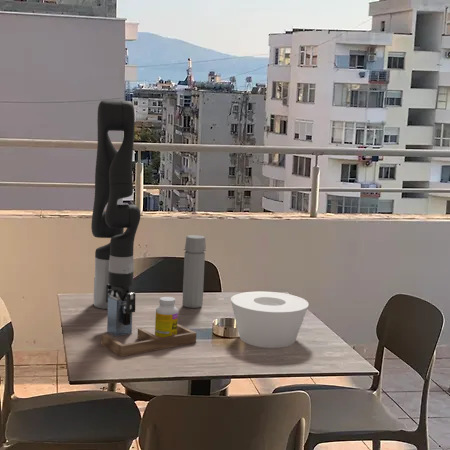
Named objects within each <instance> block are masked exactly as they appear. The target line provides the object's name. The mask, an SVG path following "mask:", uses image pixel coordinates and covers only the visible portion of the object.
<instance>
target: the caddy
mask: <svg viewBox="0 0 450 450" xmlns="http://www.w3.org/2000/svg"><path fill="white" fill-rule="evenodd" d="M100 339H101V340H100V344H101V346H103V347H105V348H106V349H108V350H110V352H113V353H115V354H116V355H117V356H119V357H126V356H131V355H132V356H133V355H136V354H141V353H142V354H143V353H147V352H153V351H157V350H163V349H168V348H173V347H179V346H185V345H190V344H195V343H197V332H196V331H194V330H192V329H189V328H188V327H185V326H184V325H181V324H179V323H177V335H173V336H167V337H162V338H159V337H157V336H155V334H153V333H151V332H149V331H148V330H146V329H143V328H141V327H139V328H137V340H138V341H135V342H129V343H124V344H123V343H122V342H120V341H118V340H116V339H115V338H114V337H113V338H112V337H111V336H109V335H108V334H106V333H105V334H101V335H100ZM139 340H140V341H139Z"/></svg>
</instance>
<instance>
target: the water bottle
mask: <svg viewBox="0 0 450 450" xmlns="http://www.w3.org/2000/svg"><path fill="white" fill-rule="evenodd" d="M206 249H207V248H206V236H203V235H197V234H189V235H186V237H185V245H184V249H183V251H184V254H183V255H184V258H183V281H182V282H183V283H182V306H184V308H185V307H186V308H188V309H198V308H202V306H203V304H204V303H203V301H204V299H203V298H204V281H205V280H204V279H205V277H204V276H205V259H206V258H205V256H206V251H207V250H206Z"/></svg>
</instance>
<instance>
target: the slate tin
mask: <svg viewBox="0 0 450 450" xmlns="http://www.w3.org/2000/svg"><path fill="white" fill-rule="evenodd" d="M122 302H123V303H126V301H123V300H122ZM125 308H126V306H125ZM131 308H132V305H131ZM106 319H107V320H106V321H107V326H106V327H107V329H106V331H107V332H108V333H110V335H111V334H112V336H115V337H120V336H125V335H130V334H132V332H133V331H132V330H133V312H132V313H131V318H130V325H123V309H122V307H120V301H119V298H117V297H116V296H113V295H110V297H108V309H107V318H106Z"/></svg>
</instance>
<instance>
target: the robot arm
mask: <svg viewBox="0 0 450 450" xmlns="http://www.w3.org/2000/svg"><path fill="white" fill-rule="evenodd" d="M135 117H136V115H135V107H134V105H133V103H132V102H131V101H130V100H111V99H110V100H108V99H107V100H106V99H105V100H104V99H103V100H101V101H100V102H99V104H98V107H97V119H96V120H97V123H96V124H97V147H96V148H97V151H96V159H95V160H96V161H95V172H94V199H93V200H94V201H93V209H92V215H91V216H92V217H91V225H90V226H91V234H92V236H93V237H95V238H99V239H110V242H109V243H107V244H104V245H101V246H98V247H97V248H95V252H94V254H95V255H94V257H95V258H94V278H93V305H94V308H97V309H104V310H108V297H110V295H113V296H116V297H117V298H119V301H120V307H122V309H123V325H130V318H131V313H132V314H133V313H135V312H136V293H135V292H131V291H130V287H132V286H133V284H134V273H135V271H134V270H135V261H134V244H135V243H134V242H135V238H136V234H137V230H138V228H139V224H140V221H141V210H140V209H139V206H137V205H136V204H118V201H119V200H120V199H125V198H129V197H132V195H133V193H134V186H133V185H134V183H133V156H134V155H133V154H134V141H135V140H134V139H135V138H134V137H135V125H136V123H135V122H136V120H135V119H136V118H135ZM109 131H110V132H117V131H119V132H123V138H122V139H123V140H122V142H121V145H120V147H119V149H118V150H117V149H116V148H115V146H114V145H113V142H112V141H111V138H110V135H109ZM105 208H106V209H105ZM122 300H123V301H126V303H123V302H122ZM131 305H132V308H131ZM125 306H126V308H125Z"/></svg>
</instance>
